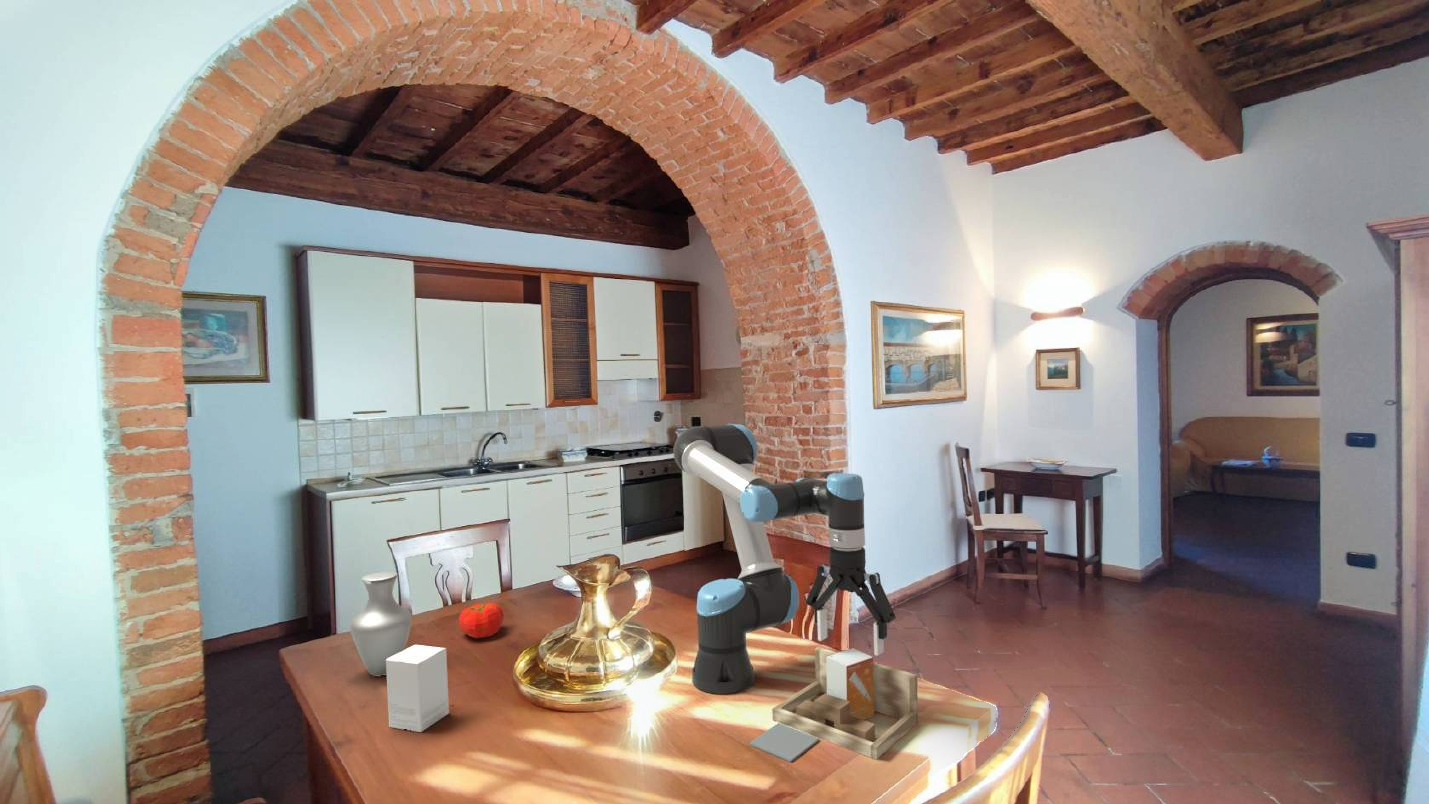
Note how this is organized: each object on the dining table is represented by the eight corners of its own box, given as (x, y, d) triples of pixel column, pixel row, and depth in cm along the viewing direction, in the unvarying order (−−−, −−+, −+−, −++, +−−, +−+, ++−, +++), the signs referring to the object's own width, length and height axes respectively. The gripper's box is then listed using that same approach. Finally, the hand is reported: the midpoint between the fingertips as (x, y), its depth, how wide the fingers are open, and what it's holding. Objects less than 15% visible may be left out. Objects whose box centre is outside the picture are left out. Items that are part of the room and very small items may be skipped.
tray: (772, 719, 143) (771, 673, 143) (818, 689, 157) (817, 646, 156) (876, 759, 127) (875, 707, 127) (918, 721, 141) (917, 674, 140)
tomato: (472, 626, 205) (471, 597, 205) (511, 627, 203) (510, 598, 203) (448, 643, 191) (447, 613, 191) (490, 645, 190) (488, 614, 189)
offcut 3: (834, 738, 135) (834, 721, 135) (844, 730, 139) (843, 713, 138) (865, 750, 131) (865, 732, 131) (875, 741, 134) (874, 724, 134)
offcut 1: (796, 723, 142) (796, 706, 142) (807, 715, 145) (806, 699, 145) (825, 733, 137) (824, 716, 137) (835, 725, 140) (835, 709, 140)
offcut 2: (814, 714, 138) (814, 700, 138) (825, 707, 141) (824, 693, 141) (840, 724, 134) (839, 709, 134) (850, 716, 137) (850, 701, 137)
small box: (847, 728, 139) (846, 666, 138) (826, 716, 144) (825, 656, 144) (875, 716, 143) (873, 656, 143) (853, 705, 149) (852, 647, 148)
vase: (339, 679, 170) (334, 581, 169) (386, 657, 183) (382, 566, 182) (381, 687, 164) (376, 586, 163) (426, 664, 177) (422, 570, 177)
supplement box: (450, 713, 150) (448, 647, 150) (421, 733, 141) (418, 663, 141) (418, 708, 153) (415, 643, 152) (387, 727, 144) (384, 658, 144)
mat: (749, 745, 133) (749, 743, 133) (778, 724, 141) (778, 723, 141) (790, 762, 127) (790, 760, 127) (819, 740, 134) (819, 738, 134)
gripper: (788, 542, 148) (791, 638, 148) (893, 558, 132) (896, 666, 132) (807, 536, 154) (810, 628, 154) (910, 551, 137) (913, 653, 138)
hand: (850, 646), depth 143 cm, fingers open, 13 cm apart
